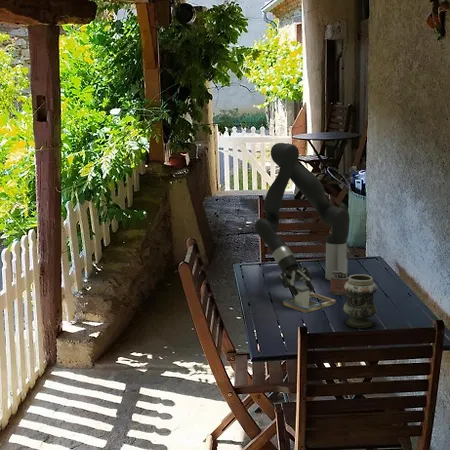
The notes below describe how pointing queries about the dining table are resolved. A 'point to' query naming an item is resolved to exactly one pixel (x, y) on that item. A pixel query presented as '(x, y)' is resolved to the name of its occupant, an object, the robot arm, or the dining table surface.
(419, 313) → the dining table surface
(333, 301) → the bay tray
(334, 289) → the lighter
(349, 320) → the apothecary jar
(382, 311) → the dining table surface
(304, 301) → the cream tall block
